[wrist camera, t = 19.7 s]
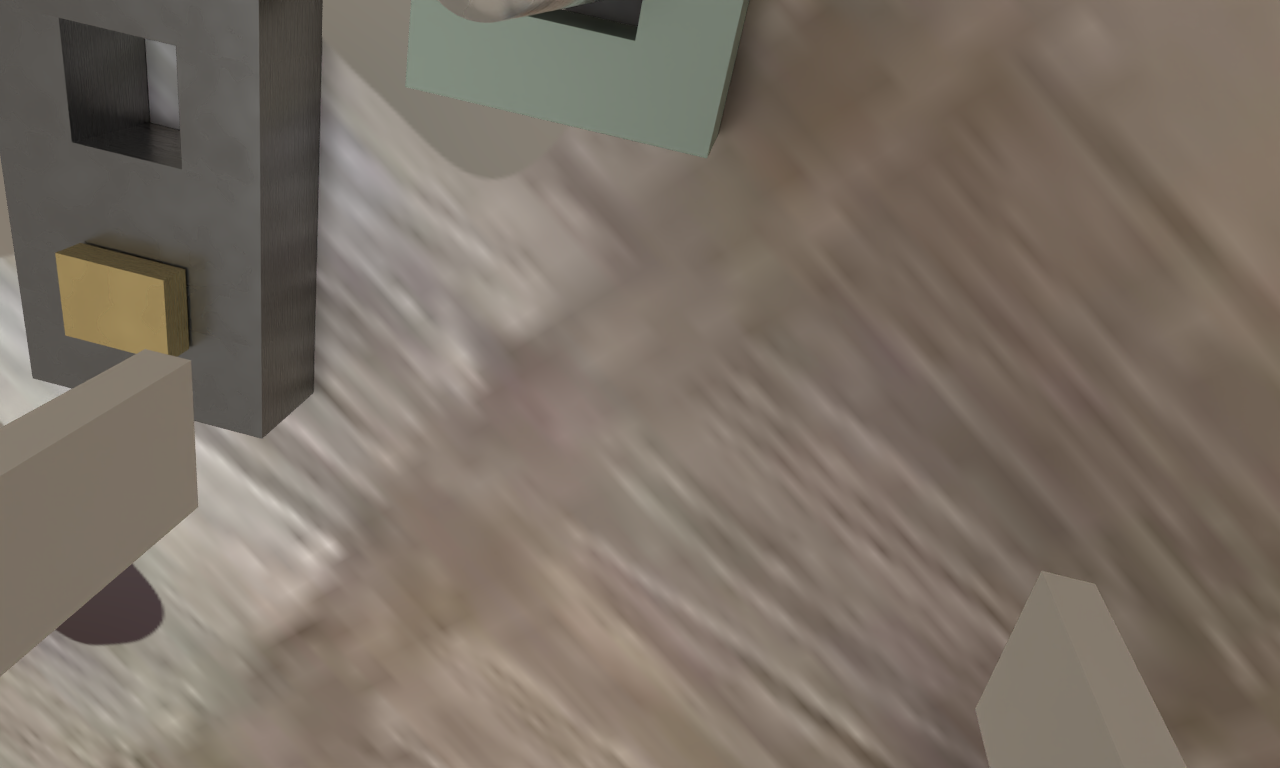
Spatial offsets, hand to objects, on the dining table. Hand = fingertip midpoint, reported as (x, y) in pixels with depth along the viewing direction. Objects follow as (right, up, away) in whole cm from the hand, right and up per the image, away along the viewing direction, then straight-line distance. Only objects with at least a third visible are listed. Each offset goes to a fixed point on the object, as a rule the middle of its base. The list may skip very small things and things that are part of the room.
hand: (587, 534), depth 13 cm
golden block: (-21, +8, +31) cm, 38 cm away
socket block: (-21, +12, +29) cm, 38 cm away
